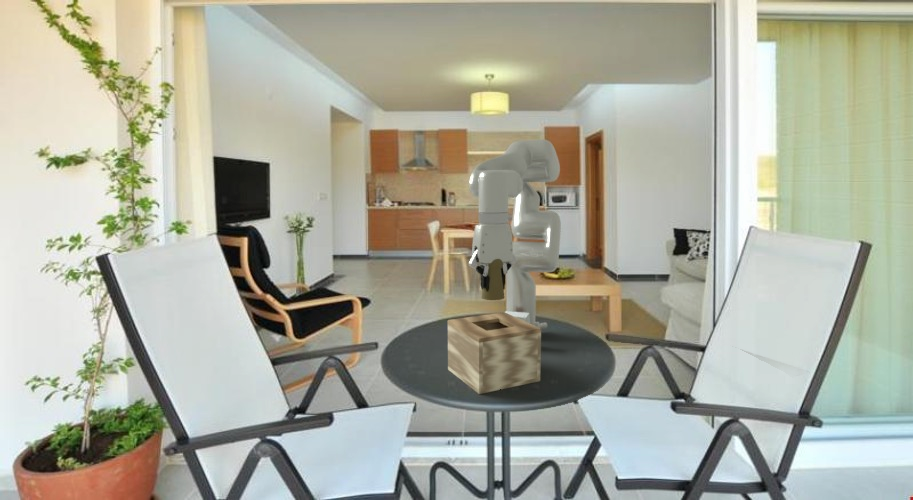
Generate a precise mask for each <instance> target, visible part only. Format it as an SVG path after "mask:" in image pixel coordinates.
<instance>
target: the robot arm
mask: <svg viewBox="0 0 913 500" xmlns="http://www.w3.org/2000/svg"><path fill="white" fill-rule="evenodd" d="M560 172H561V166H560V160H559V158H558V154H557V152H556V148H555V147H554V145H553V143H552V142H551V141H549V140H547V139H520V140H516V141H513V142H512V143H510V145H509V146H508V147H507V149H506V150H505V151H504V153H503V154H500V155H498V156H495V157H493V158H489V159H487V160H485V161H482V162H480V163H479V164H478V165H477V166H476V167H475V168H474V169H473V171H472V172H471V174H470V177H469V180H468V181H469V182H468V187H469V192H470V194H471V196H473V197H474V198H475V199H476V198H477V199H478V224H475V226H474V229H473V236H472V244H471V245H472V248H471V257H470V260H469V262H468V266H469V267H471V268H472V269H474V270H475V271H476V272H477V273H478V275H479V276H480V278H479V279H480V287H481V290H483V288H486V291H489V281H490V277H489V276H488V268H489V267H488V264H490V263H492V261H493V260H495V259H500V260H502V262H503V266H502V268H501V274H502V282H503V290H505V289H506V298H505V299H506V306H505V307H506V310H505V311H511V312H524V313H530V324H532V325H534V326H536V327H539V328H541V330H543V329H547V328H548V323H547V322H546V321H545V322H540V321H536V300H537V299H536V297H537V296H536V295H537V294H536V293H537V292H536V291H537V290H536V289H537V287H536V281H535V280H534V278H533V277H532V275H531V274H530V272H531V273H532V272H535V273H553V272H555V271H556V270H557V269H558V268H557V267H558V265H559V258H560V257H559V256H560V244H561V232H562V231H561V229H562V225H561V224H562V222H561V217H560V215H559V214H558V212H556V211H554V210H540V203H541V197H540V194H539V193H538V192H537V190H536V189H535V188H534V186H532V184H530V183H551V182H552V183H553V182H555V181H557V179H558V178H559V176H560ZM509 199H513V200H514V201H513V210H512V214H511V213H509ZM509 220H512V221H511V224H509ZM513 236H514V237H515V238H517V239H521V241H513ZM522 239H523V240H539V241H536V242H535V241H522ZM540 240H543V241H544V242H540ZM477 263H479V265H478V264H477ZM505 286H506V287H505Z"/></svg>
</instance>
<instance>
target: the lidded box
mask: <svg viewBox="0 0 913 500" xmlns="http://www.w3.org/2000/svg"><path fill="white" fill-rule="evenodd" d="M541 355H542V328H539V327H536V326H534V325H532V324H530V323H527V322H525V321H523V320H521V319H519V318H516V317H514V316H512V315H510V314H507V313H505V311H504V312H496V313H489V314H481V315H477V316H476V315H474V316H467V317H461V318H453V319H448V320H447V370H448V371H449V372H450V373H452V374H453V375H454V376H455V377H457V378H458V379H459V380H461V381H462V382H463V383H464V384H466V385H467V386H468V387H469V388H470V389H472V390H473V391H474V392H475V393H477V394H478V395H482V394H488V393H491V392H495V391H500V389H501V390H505V389H510V388H513V387H519V386H523V385H528V384H531V383H539V382H541V368H542V367H541V366H542V365H541V362H542V359H541V358H542V357H541Z"/></svg>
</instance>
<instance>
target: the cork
mask: <svg viewBox="0 0 913 500" xmlns="http://www.w3.org/2000/svg"><path fill="white" fill-rule="evenodd" d="M502 266H503V262H502V260H500V259H495V260H493V261H492V263H490V264H488V267H489V268H488V276H489V277H490V281H489V291H486V288H483V290H482V289H481V290H482V291H481V299H483V300H486V301H501V300H504V299H506V298H505V297H506V296H505V291H504V290H505V289H504V290H503V282H502V274H501V268H502Z"/></svg>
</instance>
